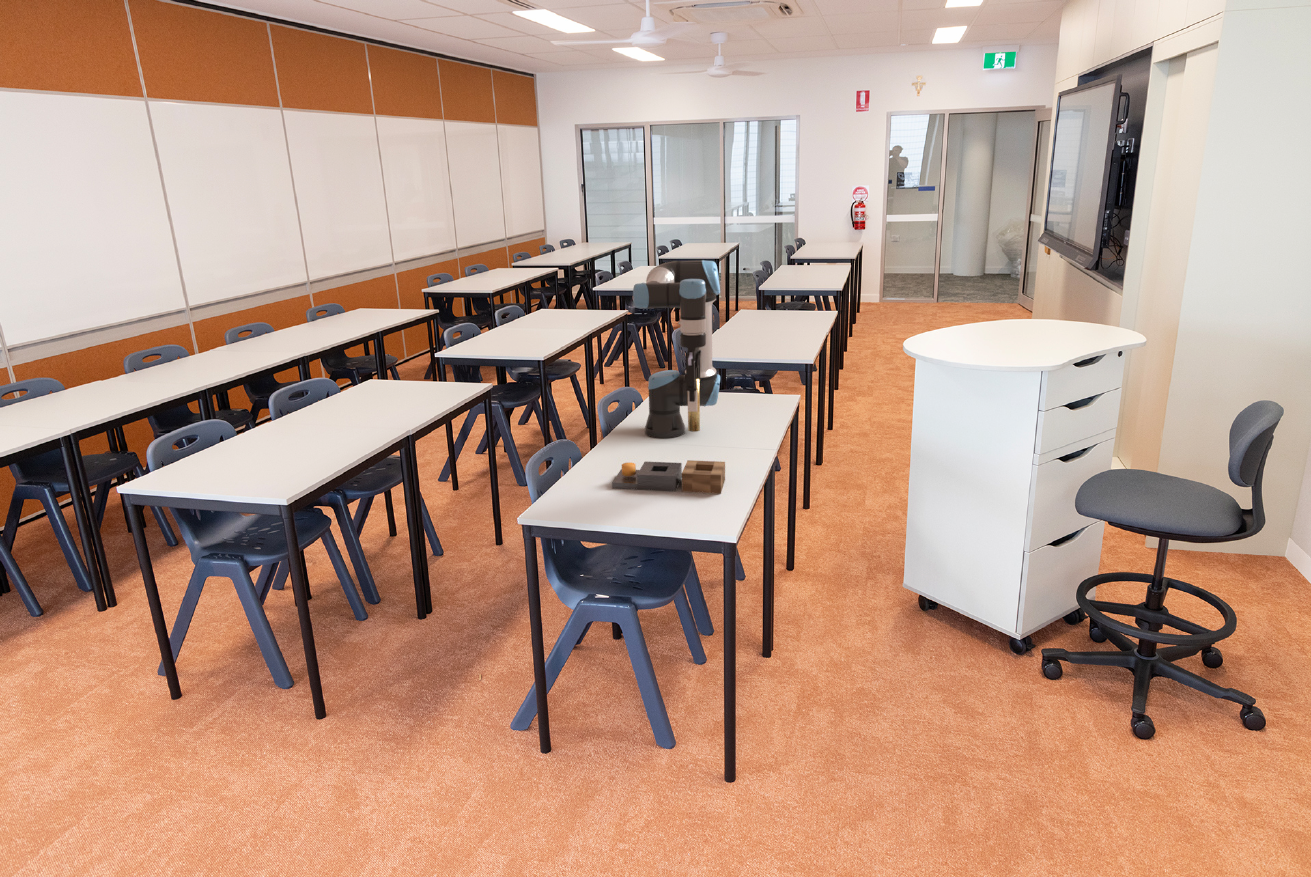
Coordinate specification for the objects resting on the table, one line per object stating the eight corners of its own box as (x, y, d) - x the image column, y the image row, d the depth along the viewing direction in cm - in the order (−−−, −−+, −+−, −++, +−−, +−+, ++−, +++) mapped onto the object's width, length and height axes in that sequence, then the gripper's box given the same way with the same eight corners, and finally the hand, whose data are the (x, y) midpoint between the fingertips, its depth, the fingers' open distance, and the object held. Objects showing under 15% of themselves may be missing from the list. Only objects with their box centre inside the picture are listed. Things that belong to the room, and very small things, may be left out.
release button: (623, 471, 254) (623, 462, 254) (637, 471, 254) (636, 462, 253) (620, 475, 250) (620, 466, 249) (634, 476, 250) (633, 467, 249)
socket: (621, 474, 259) (620, 460, 258) (681, 477, 256) (681, 462, 254) (612, 488, 248) (611, 473, 247) (675, 491, 244) (675, 476, 243)
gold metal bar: (689, 427, 245) (688, 377, 240) (700, 428, 244) (700, 377, 239) (687, 431, 242) (686, 380, 237) (698, 431, 241) (698, 380, 236)
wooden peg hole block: (687, 477, 255) (687, 460, 253) (725, 479, 253) (725, 461, 251) (681, 491, 244) (681, 473, 242) (720, 493, 242) (720, 475, 240)
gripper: (685, 327, 242) (686, 401, 250) (675, 337, 227) (676, 416, 234) (709, 327, 241) (710, 402, 248) (701, 338, 225) (701, 417, 233)
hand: (693, 409), depth 241 cm, fingers closed on gold metal bar, 3 cm apart
